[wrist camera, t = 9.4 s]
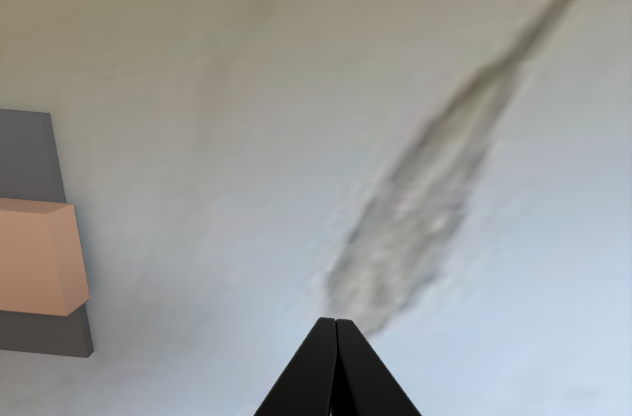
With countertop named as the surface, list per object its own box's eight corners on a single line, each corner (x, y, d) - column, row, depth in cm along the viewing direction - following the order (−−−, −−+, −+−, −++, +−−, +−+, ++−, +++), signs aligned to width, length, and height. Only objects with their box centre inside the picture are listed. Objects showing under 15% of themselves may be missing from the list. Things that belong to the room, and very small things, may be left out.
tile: (66, 316, 20) (-69, 303, 20) (91, 297, 21) (-33, 286, 22) (45, 214, 17) (-107, 200, 18) (74, 203, 19) (-63, 191, 20)
